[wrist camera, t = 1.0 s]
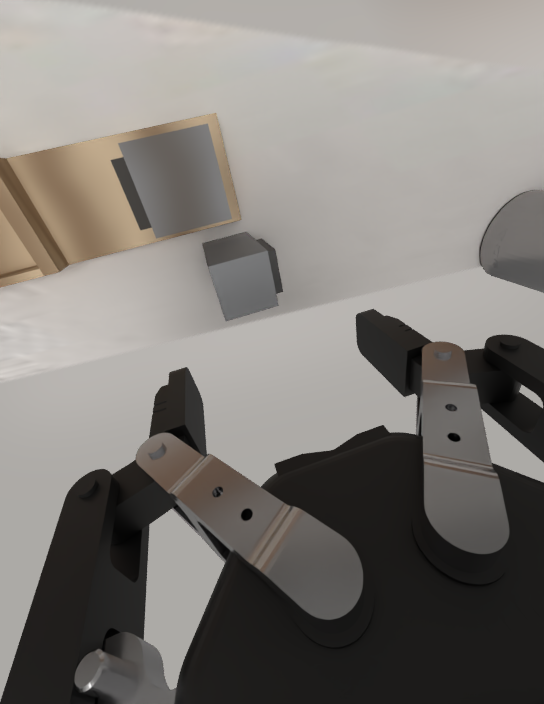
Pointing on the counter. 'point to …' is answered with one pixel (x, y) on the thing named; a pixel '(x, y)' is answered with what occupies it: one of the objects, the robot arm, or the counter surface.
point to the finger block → (243, 274)
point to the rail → (111, 196)
